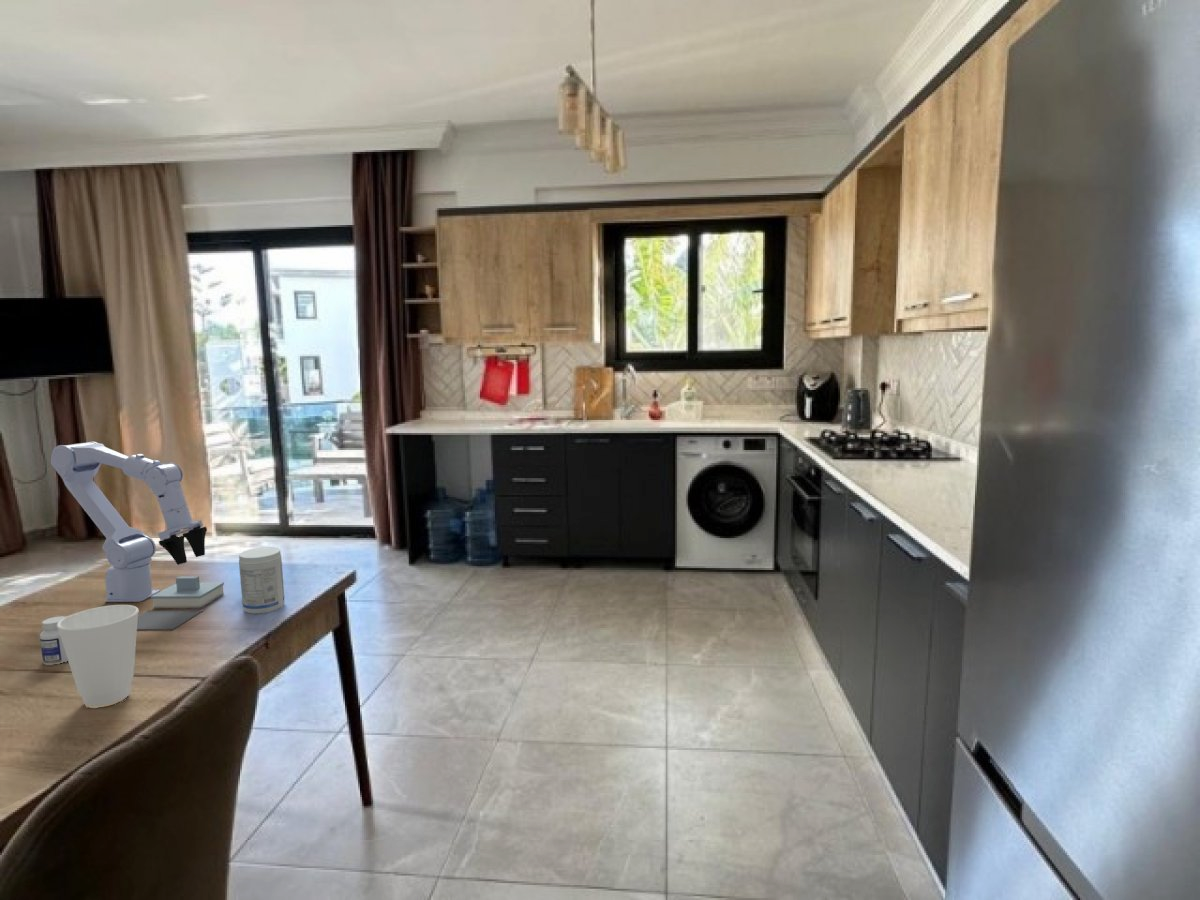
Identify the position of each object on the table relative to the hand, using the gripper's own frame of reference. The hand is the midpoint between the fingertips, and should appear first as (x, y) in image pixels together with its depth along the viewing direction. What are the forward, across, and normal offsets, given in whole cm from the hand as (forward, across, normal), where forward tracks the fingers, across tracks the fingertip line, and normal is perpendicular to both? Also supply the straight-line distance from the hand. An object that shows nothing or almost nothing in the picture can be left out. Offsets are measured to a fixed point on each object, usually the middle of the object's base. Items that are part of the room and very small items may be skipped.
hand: (191, 559), depth 168 cm
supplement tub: (+16, -5, -17) cm, 24 cm away
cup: (+17, -50, -11) cm, 54 cm away
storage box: (+10, 0, +4) cm, 11 cm away
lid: (+8, 0, +3) cm, 9 cm away
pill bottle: (+10, -34, +10) cm, 37 cm away
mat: (+11, -13, +3) cm, 17 cm away
